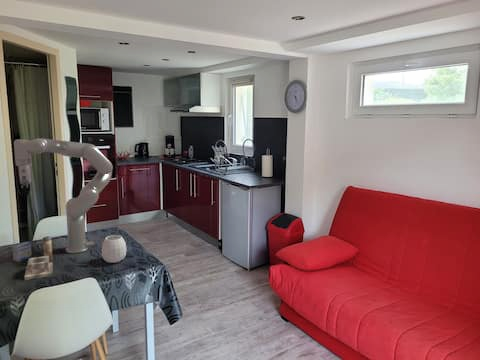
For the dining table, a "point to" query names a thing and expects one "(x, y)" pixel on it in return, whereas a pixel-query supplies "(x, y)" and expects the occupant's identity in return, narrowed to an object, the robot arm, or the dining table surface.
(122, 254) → the white faceted vase
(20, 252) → the medicine box
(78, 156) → the robot arm
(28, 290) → the dining table surface
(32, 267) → the socket stand
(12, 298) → the dining table surface
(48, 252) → the peg
